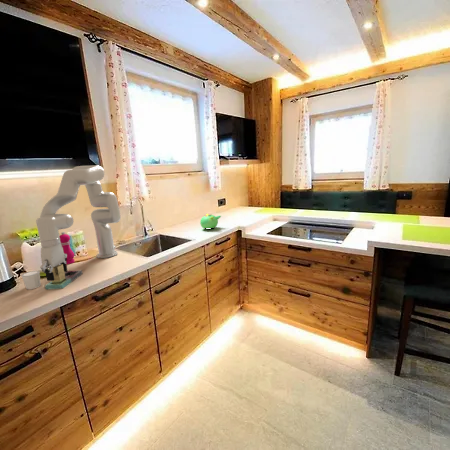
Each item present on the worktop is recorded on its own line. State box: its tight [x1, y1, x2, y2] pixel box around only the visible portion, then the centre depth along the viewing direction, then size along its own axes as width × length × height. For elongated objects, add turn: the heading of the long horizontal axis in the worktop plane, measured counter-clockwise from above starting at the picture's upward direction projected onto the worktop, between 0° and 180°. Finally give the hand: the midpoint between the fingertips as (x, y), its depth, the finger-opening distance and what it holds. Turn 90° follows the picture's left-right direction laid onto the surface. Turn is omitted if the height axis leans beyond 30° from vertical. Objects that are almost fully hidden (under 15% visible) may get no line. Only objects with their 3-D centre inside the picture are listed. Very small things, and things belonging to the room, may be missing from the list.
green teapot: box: [199, 213, 222, 229], centre depth 219 cm, size 18×17×15 cm
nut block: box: [48, 264, 66, 284], centre depth 114 cm, size 4×4×10 cm
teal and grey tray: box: [44, 269, 83, 290], centre depth 120 cm, size 17×8×2 cm, turn 2°
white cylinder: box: [21, 270, 42, 290], centre depth 114 cm, size 7×7×7 cm
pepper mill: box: [59, 231, 76, 265], centre depth 144 cm, size 7×7×20 cm
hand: (57, 276), depth 114 cm, fingers open, 9 cm apart
